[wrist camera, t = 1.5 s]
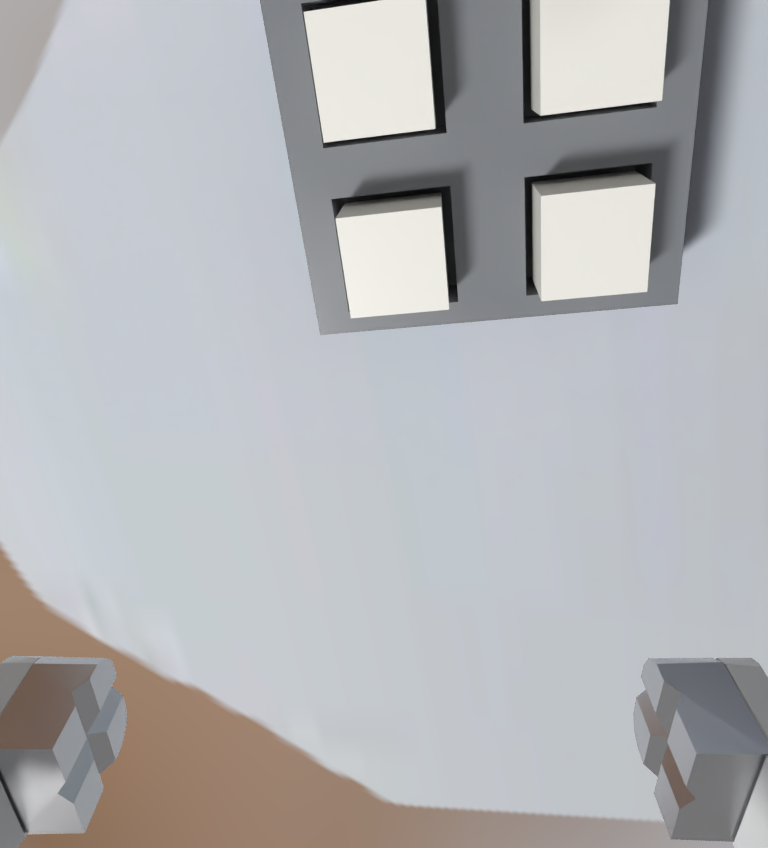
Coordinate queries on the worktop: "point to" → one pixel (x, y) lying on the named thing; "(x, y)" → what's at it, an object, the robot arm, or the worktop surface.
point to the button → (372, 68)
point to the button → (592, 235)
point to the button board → (485, 159)
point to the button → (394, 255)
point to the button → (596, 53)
